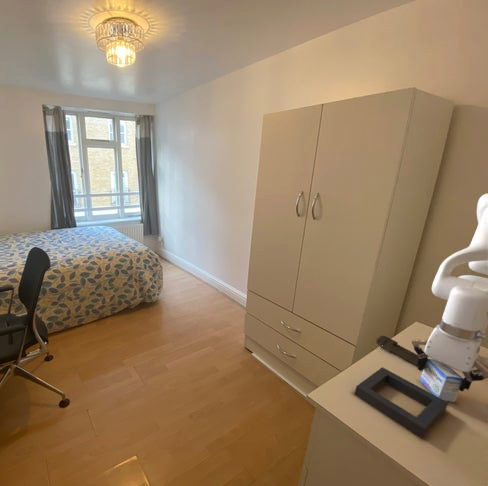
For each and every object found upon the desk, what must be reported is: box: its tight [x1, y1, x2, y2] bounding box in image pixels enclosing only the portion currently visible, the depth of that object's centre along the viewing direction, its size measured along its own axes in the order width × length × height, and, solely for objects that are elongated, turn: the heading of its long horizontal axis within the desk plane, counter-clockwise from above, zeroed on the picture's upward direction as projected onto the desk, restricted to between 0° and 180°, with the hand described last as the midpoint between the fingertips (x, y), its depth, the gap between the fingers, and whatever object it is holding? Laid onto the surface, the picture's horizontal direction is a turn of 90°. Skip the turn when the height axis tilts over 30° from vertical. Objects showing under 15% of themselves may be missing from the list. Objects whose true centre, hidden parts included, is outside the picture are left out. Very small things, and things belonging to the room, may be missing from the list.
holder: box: [354, 366, 449, 439], centre depth 80 cm, size 16×16×3 cm
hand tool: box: [375, 335, 419, 367], centre depth 98 cm, size 19×4×5 cm, turn 21°
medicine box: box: [419, 358, 464, 403], centre depth 83 cm, size 8×4×9 cm, turn 170°
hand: (440, 378), depth 83 cm, fingers closed on medicine box, 8 cm apart
